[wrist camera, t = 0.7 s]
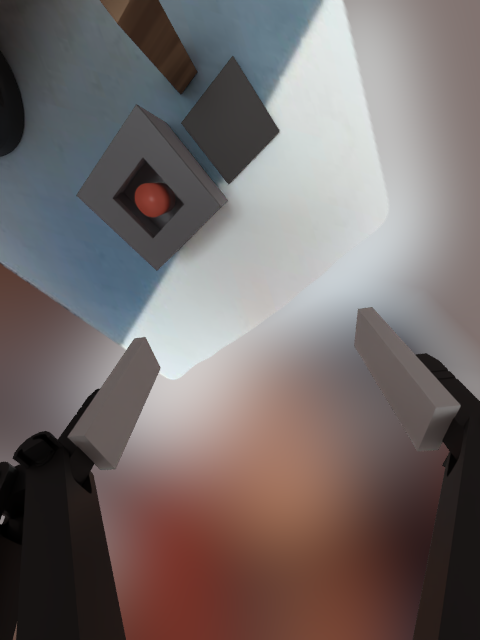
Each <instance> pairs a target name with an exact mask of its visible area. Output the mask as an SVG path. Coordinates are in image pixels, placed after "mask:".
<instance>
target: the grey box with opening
mask: <svg viewBox="0 0 480 640" xmlns="http://www.w3.org/2000/svg"><path fill="white" fill-rule="evenodd" d="M158 182H161V183H165V184H167V185H168V186H169V187H170V188H171V189H172V191H173V192H174V194H175V198H176V202H175V206H174V208H173V209H172V210H171V211H169V212H167V213H165V214H162V215H160V216H157V217H149V216H146V215H144V214H143V213H142V212H141V211H140V210H139V209H138V207H137V205H136V202H135V192H136V189H137V188H138V187H139V186H140V185H142V184H145V183H158ZM76 196H77V197H79V198H80V199H81V200H82V201H83V202H84V203H85V204H86V205H87V206H88V207H89V208H90V209H91V210H92V211H94V212H95V213H96V214H97V215H98V216H99V217H100V218H101V219H102V220H103V221H104V222H105V223H106V224H107V225H109V226H110V227H111V228H112V229H113V230H114V231H115V232H116V233H117V234H118V235H119V236H120V237H121V238H122V239H124V240H125V241H126V242H127V243H128V244H129V245H130V246H131V247H132V248H133V249H134V250H135V251H136V252H137V253H139V254H140V255H141V256H142V257H143V258H144V259H145V260H146V261H147V262H148V263H149V264H150V265H151V266H152V267H153V268H155V269H156V270H158V269H159V268H160V267H161V266H162V265H163V264H164V263H166V262H167V261H168V260H169V259H170V258H171V257H172V256H173V255H174V254H175V253H176V252H177V251H178V250H179V249H180V248H181V247H182V246H183V245H184V244H185V243H186V242H187V241H188V240H189V239H190V238H191V237H192V236H193V235H194V234H195V233H196V232H197V231H198V230H199V229H200V228H201V227H202V226H203V225H204V224H205V223H206V222H207V221H208V220H209V219H210V218H211V217H212V216H213V215H214V214H215V213H216V212H217V211H218V210H219V209H220V208H221V207H222V206H223V205H224V204H225V203H226V202H227V201H228V200H227V198H226V197H225V196H224V195H223V193H222V192H221V191H220V190H219V188H218V187H217V186H216V185H215V183H214V182H213V181H212V180H211V178H210V177H209V176H208V175H207V173H206V172H205V171H204V169H203V168H202V167H201V166H200V164H199V163H198V162H197V161H196V159H195V158H194V157H193V156H192V154H191V153H190V152H189V151H188V149H187V148H186V147H185V146H184V144H183V143H182V142H181V141H180V139H179V138H178V137H177V136H176V134H175V133H174V132H173V131H172V129H171V128H170V127H169V126H168V124H167V123H166V122H164V121H163V120H161V119H159V118H158V117H156V116H155V115H153V114H151V113H150V112H148V111H146V110H145V109H143V108H142V107H140V106H138V105H137V104H136V106H135V107H134V109H133V110H132V112H131V113H130V115H129V116H128V118H127V119H126V121H125V122H124V124H123V125H122V127H121V128H120V130H119V131H118V133H117V134H116V136H115V137H114V139H113V140H112V142H111V143H110V145H109V146H108V148H107V150H106V151H105V153H104V154H103V156H102V157H101V159H100V160H99V162H98V163H97V165H96V166H95V168H94V169H93V171H92V172H91V174H90V175H89V177H88V178H87V180H86V181H85V183H84V184H83V186H82V187H81V189H80V190H79V192H78V193H77V195H76Z"/></svg>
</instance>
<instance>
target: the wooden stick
mask: <svg viewBox="0 0 480 640" xmlns="http://www.w3.org/2000/svg"><path fill="white" fill-rule="evenodd" d="M100 1H101V3H102V4H103V5H104V7H105V8H106V9H107V11H108V12H109V13H110V14H111V16H112V17H113V18H114V20H115V21H116V22H117V24H118V25H119V26H120V27H121V28H122V29H123V30H124V32H125V33H126V34H127V35H128V36H129V37H130V38H131V39H132V41H133V42H134V43H135V44H136V45H137V46H138V47H139V48H140V49H141V51H142V52H143V53H144V54H145V55H146V56H147V57H148V58H149V60H150V61H151V62H152V63H153V64H154V65H155V66H156V67H157V68H158V70H159V71H160V72H161V73H162V74H163V75H164V76H165V77H166V79H167V80H168V81H169V82H170V83H171V84H172V85H173V86H174V88H175V89H176V90H177V91H178V92H179V93H180V94H182V93H183V91H184V90H185V88H186V87H187V86H188V84H189V83H190V82H191V80H192V79H193V77H194V76H195V75H196V73H197V71H196V69H195V67H194V65H193V63H192V61H191V59H190V58H189V56H188V54H187V52H186V50H185V48H184V46H183V45H182V43H181V41H180V39H179V37H178V35H177V34H176V32H175V30H174V28H173V26H172V24H171V22H170V21H169V19H168V17H167V15H166V13H165V11H164V9H163V8H162V6H161V4H160V2H159V0H100Z"/></svg>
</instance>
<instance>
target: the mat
mask: <svg viewBox="0 0 480 640" xmlns="http://www.w3.org/2000/svg"><path fill="white" fill-rule="evenodd" d="M181 124H182V125H183V126H184V127H185V129H186V130H187V131H188V133H189V134H190V135H191V137H192V138H193V139H194V140H195V142H196V143H197V144H198V146H199V147H200V148H201V149H202V151H203V152H204V153H205V155H206V156H207V157H208V159H209V160H210V161H211V162H212V164H213V165H214V166H215V168H216V169H217V170H218V171H219V173H220V174H221V175H222V177H223V178H224V179H225V181H226V182H227V183H228V184H229V183H230V182H231V181H232V180H233V179H234V178H235V177H236V176H237V175H238V174H239V173H240V172H241V171H242V170H243V168H244V167H245V166H246V165H247V164H248V163H249V162H250V161H251V160H252V159H253V158H254V157H255V156H256V155H257V154H258V153H259V152H260V151H261V150H262V149H263V148H264V147H265V146H266V145H267V144H268V143H269V142H270V141H271V140H272V138H273V137H274V136H275V135H276V134H277V133H278V132H279V129H278V128H277V126H276V124H275V123H274V121H273V120H272V118H271V116H270V115H269V113H268V112H267V110H266V108H265V107H264V105H263V103H262V102H261V100H260V99H259V97H258V95H257V94H256V92H255V91H254V89H253V87H252V86H251V84H250V82H249V81H248V79H247V78H246V76H245V74H244V73H243V71H242V70H241V68H240V66H239V65H238V63H237V62H236V60H235V58H234V57H233V56H232V57H231V59H230V60H229V61H228V63H227V64H226V65H225V66H224V68H223V69H222V70H221V72H220V73H219V74H218V76H217V77H216V78H215V80H214V81H213V82H212V83H211V85H210V86H209V87H208V89H207V90H206V91H205V93H204V94H203V95H202V96H201V98H200V99H199V100H198V102H197V103H196V104H195V106H194V107H193V108H192V110H191V111H190V112H189V113H188V115H187V116H186V117H185V119H184V120H183V121H182V123H181Z"/></svg>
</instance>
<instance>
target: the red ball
mask: <svg viewBox="0 0 480 640" xmlns="http://www.w3.org/2000/svg"><path fill="white" fill-rule="evenodd" d="M135 202H136V205H137V207H138V209H139V210H140V211H141V212H142V213H143V214H144V215H146V216H149V217H157V216H160V215H162V214H165V213H167V212H169V211H171V210H172V209H173V208H174V206H175V202H176V198H175V194H174V192H173V191H172V189H171V188H170V187H169V186H168V185H167V184H165V183H161V182H158V183H145V184H142V185H140V186H139V187H138V188H137V189H136V192H135Z"/></svg>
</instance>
